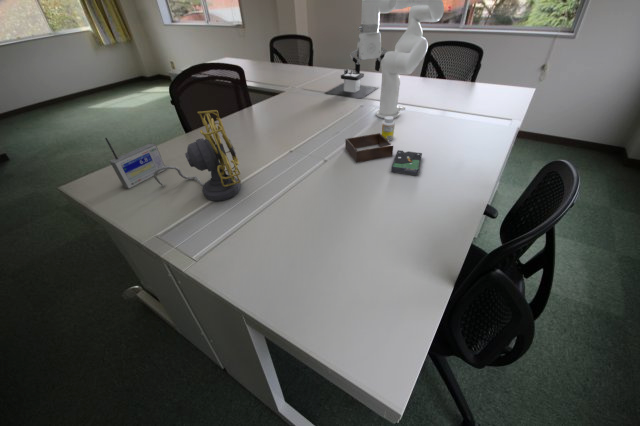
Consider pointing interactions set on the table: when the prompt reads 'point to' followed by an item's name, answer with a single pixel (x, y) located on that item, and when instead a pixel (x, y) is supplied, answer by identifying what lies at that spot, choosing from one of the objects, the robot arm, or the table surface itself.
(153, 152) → the electronic device
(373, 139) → the desk caddy
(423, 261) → the table surface
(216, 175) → the electric fan
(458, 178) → the table surface
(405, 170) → the disk drive
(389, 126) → the supplement bottle
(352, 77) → the black-topped pedestal
